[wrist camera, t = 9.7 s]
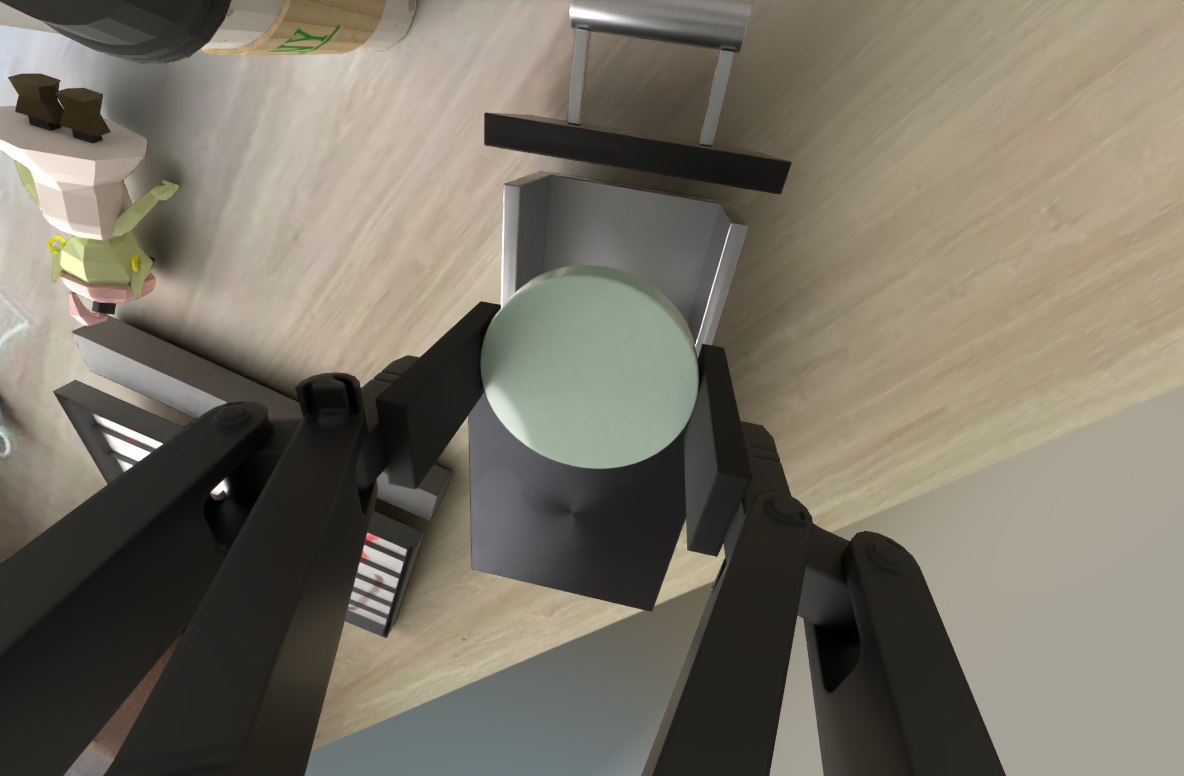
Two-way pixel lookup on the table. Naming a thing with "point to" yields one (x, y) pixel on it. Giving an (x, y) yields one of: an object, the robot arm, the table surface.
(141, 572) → the robot arm
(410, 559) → the shutter
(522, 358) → the plate
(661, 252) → the drawer
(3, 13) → the jerry can
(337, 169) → the table surface
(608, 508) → the cabinet
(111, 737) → the sphere
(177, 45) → the coffee cup
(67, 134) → the figurine
